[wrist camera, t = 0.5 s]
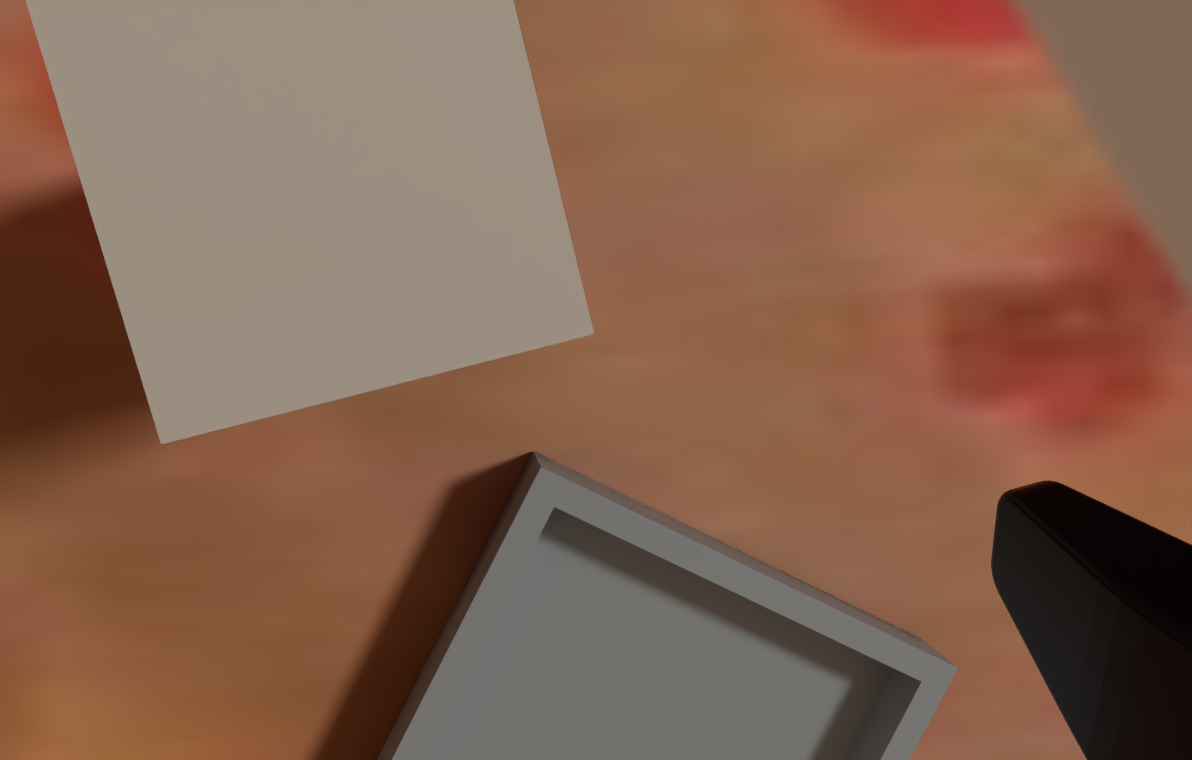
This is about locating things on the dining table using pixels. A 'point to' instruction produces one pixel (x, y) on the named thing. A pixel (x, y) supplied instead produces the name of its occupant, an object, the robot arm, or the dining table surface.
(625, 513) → the tray
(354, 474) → the dining table surface
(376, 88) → the grey tall block
